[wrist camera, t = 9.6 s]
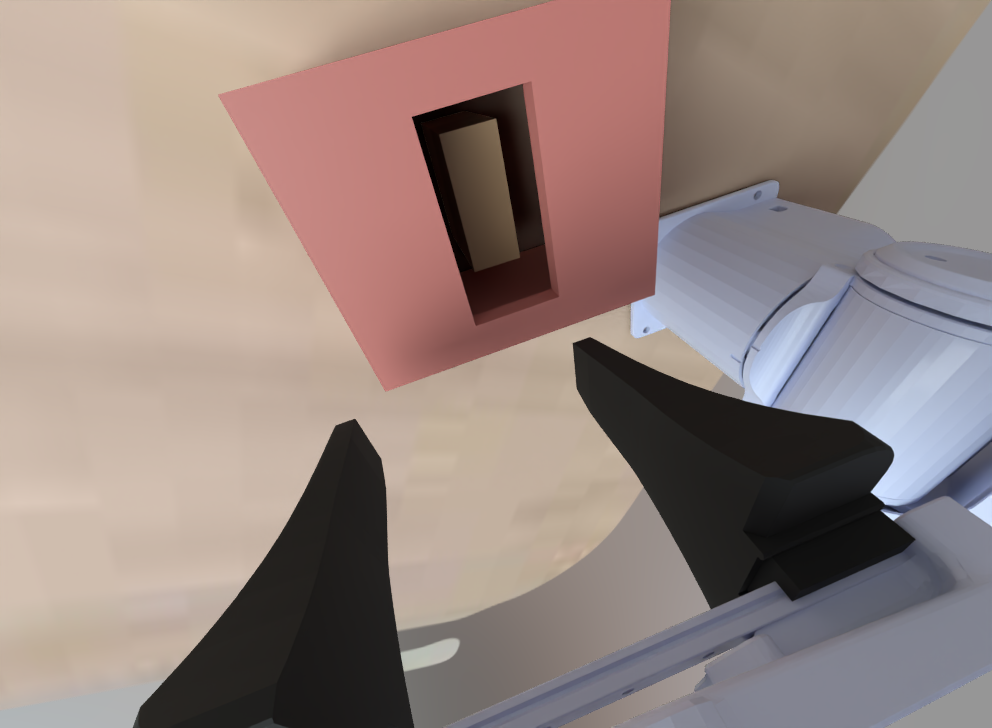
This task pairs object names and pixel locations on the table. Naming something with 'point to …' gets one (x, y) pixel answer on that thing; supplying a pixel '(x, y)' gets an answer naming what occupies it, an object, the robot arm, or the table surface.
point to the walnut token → (473, 186)
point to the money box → (411, 197)
